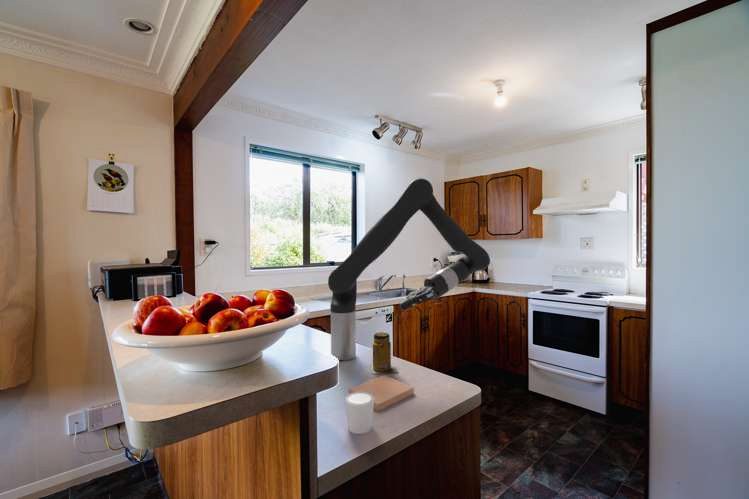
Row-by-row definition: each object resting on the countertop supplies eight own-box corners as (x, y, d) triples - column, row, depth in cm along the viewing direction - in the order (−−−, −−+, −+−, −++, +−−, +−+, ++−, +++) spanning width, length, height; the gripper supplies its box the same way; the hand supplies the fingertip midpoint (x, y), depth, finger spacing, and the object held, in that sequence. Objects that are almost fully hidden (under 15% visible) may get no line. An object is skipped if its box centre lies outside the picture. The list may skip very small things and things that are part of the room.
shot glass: (339, 430, 79) (339, 401, 79) (354, 416, 85) (354, 389, 85) (365, 438, 76) (365, 408, 75) (379, 423, 82) (379, 394, 81)
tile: (384, 374, 106) (348, 388, 96) (413, 387, 97) (377, 404, 87) (384, 381, 106) (348, 396, 96) (413, 395, 97) (377, 412, 87)
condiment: (371, 365, 118) (370, 331, 117) (395, 364, 119) (395, 330, 118) (373, 374, 110) (372, 338, 110) (398, 373, 111) (398, 337, 111)
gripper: (426, 274, 120) (387, 297, 113) (447, 271, 108) (405, 297, 101) (435, 292, 120) (396, 317, 114) (457, 292, 108) (416, 319, 101)
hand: (400, 307), depth 107 cm, fingers closed
